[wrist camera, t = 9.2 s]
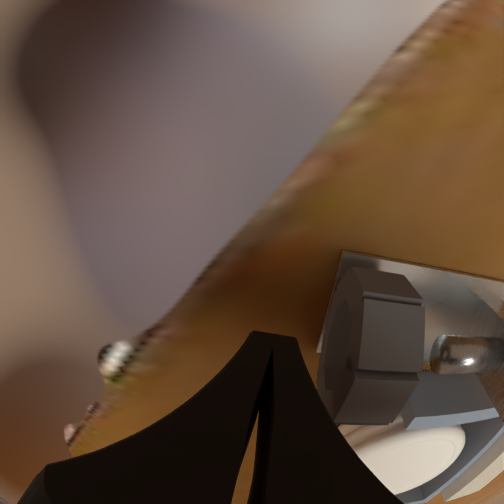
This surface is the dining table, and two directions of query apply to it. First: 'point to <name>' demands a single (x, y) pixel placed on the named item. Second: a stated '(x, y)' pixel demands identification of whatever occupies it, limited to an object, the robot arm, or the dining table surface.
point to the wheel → (371, 347)
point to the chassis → (473, 423)
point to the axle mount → (450, 318)
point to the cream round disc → (404, 451)
